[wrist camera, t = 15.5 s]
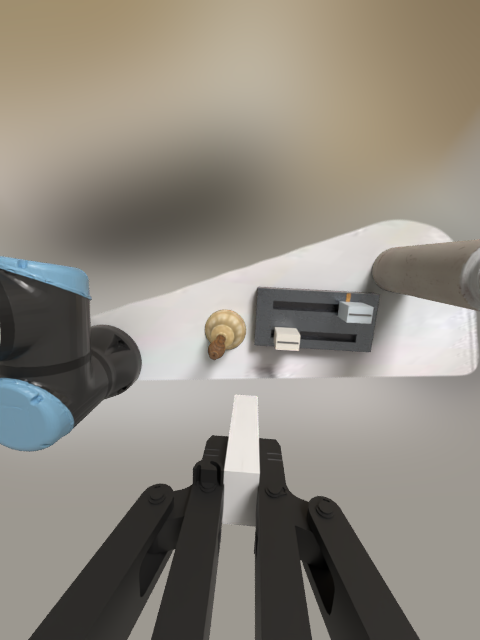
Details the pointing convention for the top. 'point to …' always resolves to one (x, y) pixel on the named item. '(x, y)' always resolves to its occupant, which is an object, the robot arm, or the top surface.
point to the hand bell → (224, 332)
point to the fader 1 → (286, 339)
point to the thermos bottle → (433, 272)
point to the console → (313, 318)
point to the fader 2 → (355, 312)
